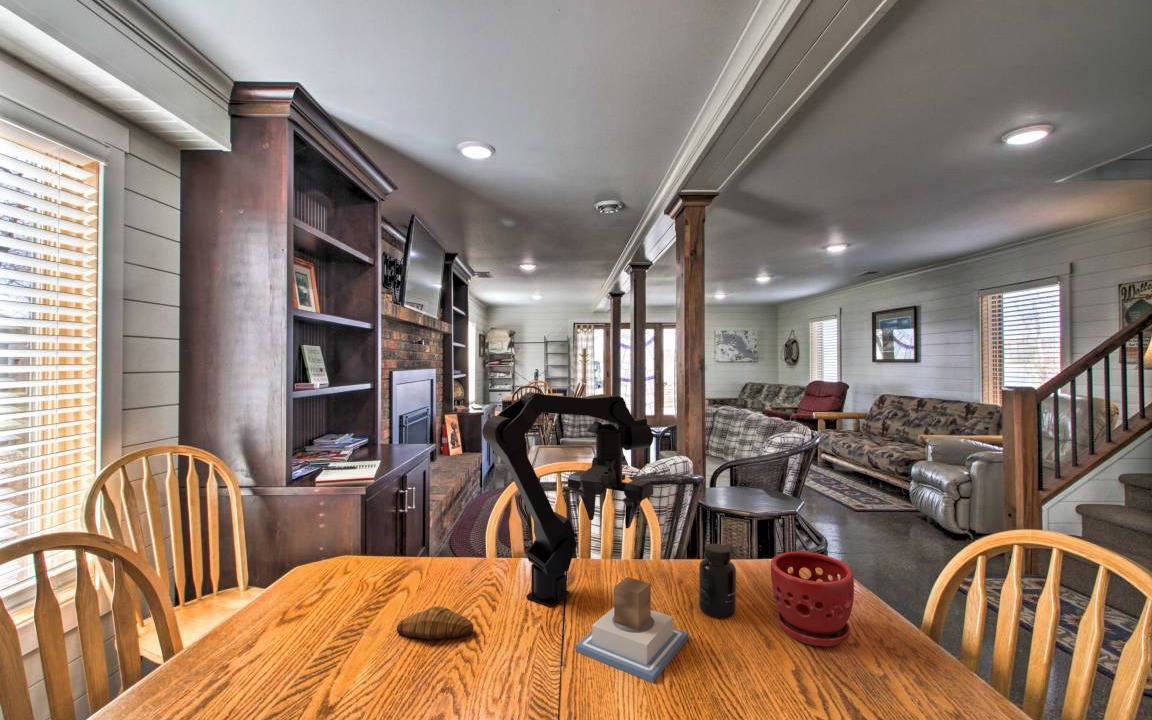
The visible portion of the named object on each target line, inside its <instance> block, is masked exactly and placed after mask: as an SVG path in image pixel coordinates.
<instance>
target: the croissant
mask: <svg viewBox="0 0 1152 720" xmlns="http://www.w3.org/2000/svg"><path fill="white" fill-rule="evenodd" d="M473 631H474V624H473V622H472V621H471V620H469V618H467V617H466V616H463V615H462V614H459V613H458V612H454V611H452V610H451V609H449V608H448V607H445V606H444V607H443V606H439V605H437V606H432V607H428V608H426V609H425V610H424V611H418V612H417V613H414V614H411V615H408V616H407V617H405V618H404V619H402V620H400V621H399V622H398V623H397V626H396V633H397V634H399V635H402V636H403V637H408V638H413V639H414V638H417V639H422V640H427V641H428V640H429V641H434V640H435V641H437V640H445V639H451V640H452V639H456V638H463V637H467V636H470V635H472V634H473Z"/></svg>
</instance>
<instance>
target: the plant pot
mask: <svg viewBox="0 0 1152 720" xmlns="http://www.w3.org/2000/svg"><path fill="white" fill-rule="evenodd" d="M789 568H792V572H790V573H789ZM803 568H805V569H807V570H809V571H810V576H809V577H807V578H803V577H802V576H801V575H800V571H801V569H803ZM817 568H818V569H821V570H822V573H821V574H819V573H818V572H817V570H816V569H817ZM838 575H839V577H838ZM829 576H830V577H831V579H830V578H829ZM770 578H771V585H772V590H773V591H772V594H773V597H774V601H775V604H776V606H777V609H778V611H777V614H776V619H777V622H778V624H779V626H780V628H781V629H782V630H783V631H784V632H786V634H788V635H789V636H790V637H792V638H794V640H797V641H799V642H802V643H804V644H808V645H812V646H816V647H828V648H829V647H830V648H831V647H834V646H837V645H841V644H843V643H844V642H845V641H847V639H849V638H850V634H851V627H850V625H849V623H848V621H849V619H850V617H851V614H852V610H853V605H854V599H855V598H854V596H855V582H854V579H855V578H854V572H853V570H852V569H851V568H850V566H849V565H847V564H846V563H845V562H843V561H841V560H839V559H837V558H834V557H832V556H829V555H827V554H826V555H825V554H821V553H817V552H809V551H788V552H782V553H780V554H777V555H775V556H774V557H772V559H771V560H770ZM839 578H840V579H839ZM818 580H822V581H818Z"/></svg>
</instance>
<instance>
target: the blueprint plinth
mask: <svg viewBox="0 0 1152 720" xmlns="http://www.w3.org/2000/svg"><path fill="white" fill-rule="evenodd" d="M689 635H690V634H689V632H687V631H684V630H682V629H678V628H676V627H674V616H671V615H668V614H664V613H662V612H659V611H655V610H652V609H651V619H650V620H649V621H648V622H647V623H646V624H645V625H644V626H643V627H642V628H641V629H640V630H639V631H637V630H634V629H632V628H629V627H626V626H623V625H620V624H618V623H615V622H614V606H613V607H612V608H611V609H609V611H608V612H606V613H604V615H603V616H601V617H600V618H599V619H597V620H596V621H595V622H594V623H593V624H592V625H591V631H590V632H588V634H586V635H585V636H584V637H582V639H581V640H579V642H577V643H576V644H575V645H574V649H575V652H577V653H579V654H581V655H583V656H587V657H589V658H591V659H594V660H595V661H598V662H601V663H603V664H605V665H608V666H611V667H612V668H615V669H618V670H620V671H623V672H625V673H628V674H630V675H632V676H634V675H635V677H637V678H639V677H640V678H639V679H642V680H644V681H647V682H650V683H652V684H653V683H654V682H655V681H656V680H657V679H658V677H659V676H660V675H661V674H662V672H663V671H664V670H665V668H667V666H668V665H669V664H670V662H671V661H673V659H674V658H675V656H676V655H677V654H678V652H679V651H680V650H681V649H682V647H683V646H684V645H685V643H686V642H687V641H688V640H689Z"/></svg>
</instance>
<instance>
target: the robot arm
mask: <svg viewBox="0 0 1152 720" xmlns="http://www.w3.org/2000/svg"><path fill="white" fill-rule="evenodd" d="M627 406H628V405H627V403H626V401H625V399H624V398H623V397H622V396H619V395H612V394H604V393H603V394H602V393H600V394H592V395H587V396H583V397H578V396H567V395H566V396H565V395H557V394H556V395H555V394H543V393H540V392H539V393H538V392H534V391H533V392H532V391H529V392H525V393H524V394H523V395H522V396H521V397H520V398H519V399H517V400H516V401H514V402H513V403H511V404H510V405H508V406H507V407H505V408H504V409H502V410H501V411H500V412H499V413H497V415H493V416H491V417H489V418H488V419H487V420H486V421H485V423H484V424H483V428H482V429H481V432H482V435H483V437H482V438H484V440H485V442H486V443H487V444H488V445H489V447H490V449H492V451H493V452H494V453H495V454H496V455H497V456H498V457H499V459H501V461H503V463H504V464H505V466H506V467H507V470H508V472H509V474H510V476H511V478H512V479H513V482H514V484H515V486H516V488H517V490H518V492H519V494H520V497H521V498H522V500H523V502H524V504H525V506H526V508H527V510H528V512H529V514H530V516H531V518H532V521H533V534H534V536H535V540H534V541H533V542H532V544H531V545H530V546H529V547H528V549H527V551H526V552H525V554H526V557H527V560H528V561H529V563H532V564H531V565H530V566H531V567H530V568H531V569H530V570H531V571H530V572H531V573H530V574H531V576H530V577H531V579H530V580H531V592H529V593H527V594H526V595H525V596H526V599H527V600H530V601H533V602H536V603H539V604H541V605H545V606H547V607H550V608H551V607H553V606H555V605H557V603H560V602H561V601H562V600H564V599H565V598H567V597H568V596H570V591H569V590H567V581H568V580H567V575H566V572H568V571H569V570H570V566H571V562H572V559H573V556H574V553H575V552H576V548H577V545H578V544H577V543H578V542H577V538H576V537H578V534H577V533H575V531H574V529H573V527H572V523H571V521H570V519H569V518H566V517H565V516H563V515H562V514H560V513H558V512H555V511H554V508H553V507H552V505H551V503H550V501H549V499H548V496H547V495H546V492H545V490H544V488H543V486H542V483H541V482H540V480H539V477H538V475H537V473H536V471H535V469H534V467H533V465H532V463H531V461H530V459H529V456H528V442H527V438H526V433H528V432H529V431H530V430H531V429H532V428H533V426H534V424H535V423H536V421H537V419H538V418H539V416H540V415H541V414H542V413H543V414H556V415H557V414H558V415H559V414H561V415H574V416H585V417H587V418H592V419H594V420H599V421H594V422H593V423H592V424H591V425H590V426H589V427H587V429H586V432H587V433H590V434H591V433H592V434H595V457H592V461H591V467H590V468H587V470H579V471H575V472H573V473H570V474H569V476H568V477H567V488H569V489H571V490H572V491H573V492H575V493H576V494H577V495H578V496H580V498H581V501H582V503H583V506H584V507H585V511H586V515H587V517H588V520H589V521H593V520H594V518H595V514H596V498H597V497H596V496H600V495H602V494H603V493H604V492H605V490H614V491H620V492H623V495H624V496H625V497H624V498H622V501H623V502H624V504H625V512H624V513H625V514H624V515H625V516H624V519H625V521H624V524H625V529H626V530H627V529H629V528H630V527H631V524H632V522H633V520H634V518H635V516H636V513H637V511H638V508H639V507H640V504H641V503H642V501H643V500H646V499H647V498H649V497H651V496H653V495H654V486H653V484H652V482H651V481H650V480H643V479H638V478H637V479H636V478H635V479H633V480H631V481H629V482H624V480H626V474H623V462H625V461H626V455H623V450H624V451H630V450H631V451H632V450H633V451H634V450H640V449H646V448H650V447H651V446H652V444H653V442H654V433H653V431H652V428H651V426H650V425H649V424H648V419H647V418H643V417H638V418H637V417H636V418H634V417H633V415H632V414H631V411H629V409H628V407H627ZM600 421H605V422H606V423H603V424H602V422H600ZM616 425H617V426H616Z"/></svg>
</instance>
